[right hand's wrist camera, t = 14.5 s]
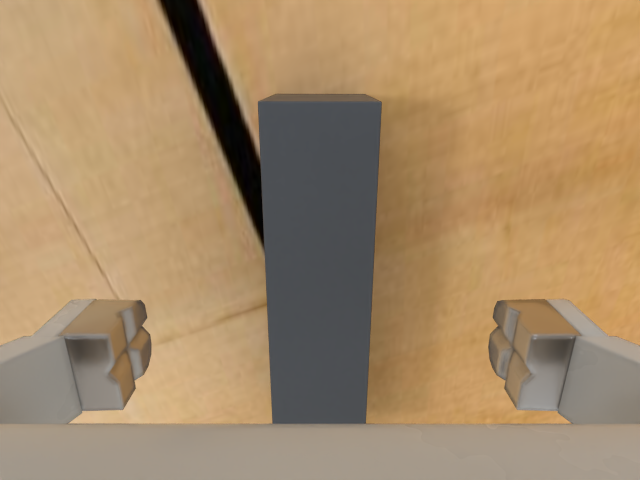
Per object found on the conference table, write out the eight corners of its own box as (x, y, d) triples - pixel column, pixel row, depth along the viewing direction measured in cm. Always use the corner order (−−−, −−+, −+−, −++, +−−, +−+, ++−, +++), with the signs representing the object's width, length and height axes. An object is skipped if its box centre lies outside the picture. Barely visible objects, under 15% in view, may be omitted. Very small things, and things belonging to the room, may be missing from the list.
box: (274, 93, 30) (257, 101, 22) (365, 94, 30) (381, 101, 22) (284, 396, 39) (275, 480, 31) (354, 397, 39) (363, 480, 31)
